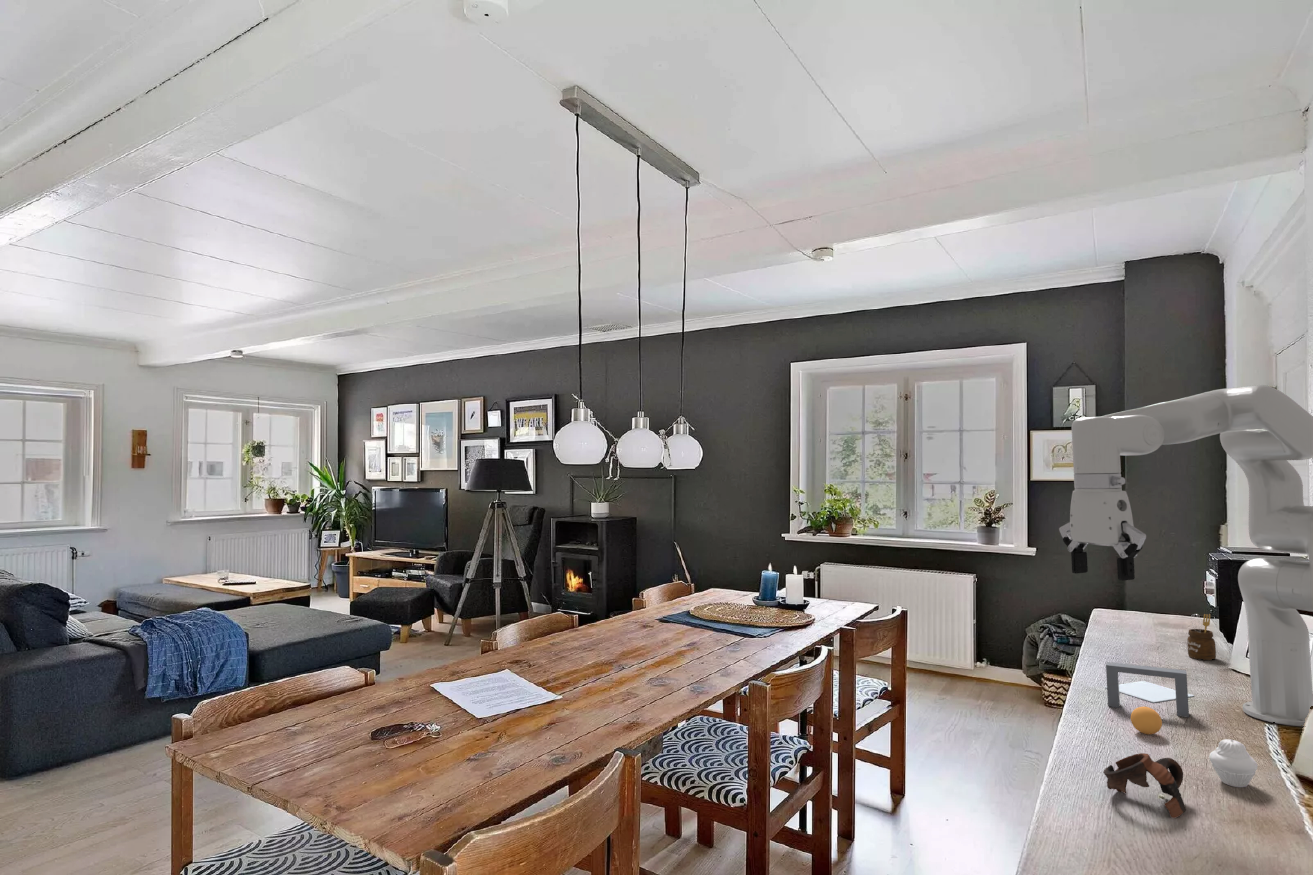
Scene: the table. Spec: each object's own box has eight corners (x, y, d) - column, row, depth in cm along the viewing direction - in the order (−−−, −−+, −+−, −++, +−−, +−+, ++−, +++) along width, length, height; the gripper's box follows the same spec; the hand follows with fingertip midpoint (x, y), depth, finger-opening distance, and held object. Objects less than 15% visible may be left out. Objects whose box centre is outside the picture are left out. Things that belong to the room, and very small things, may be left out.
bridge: (1108, 702, 158) (1106, 661, 159) (1188, 713, 151) (1186, 670, 151) (1108, 706, 156) (1105, 665, 156) (1189, 717, 148) (1186, 673, 148)
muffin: (1251, 795, 114) (1248, 749, 114) (1204, 782, 119) (1202, 738, 119) (1264, 784, 117) (1261, 740, 118) (1218, 772, 122) (1215, 729, 123)
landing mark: (1143, 681, 172) (1143, 680, 172) (1194, 696, 161) (1194, 695, 161) (1104, 687, 169) (1104, 686, 169) (1153, 703, 157) (1153, 702, 157)
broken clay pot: (1167, 829, 105) (1130, 772, 108) (1117, 831, 113) (1084, 777, 116) (1216, 791, 110) (1179, 737, 113) (1165, 796, 118) (1132, 745, 121)
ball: (1144, 727, 143) (1143, 701, 143) (1169, 736, 138) (1167, 709, 139) (1125, 731, 142) (1123, 704, 142) (1149, 740, 137) (1147, 712, 137)
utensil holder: (1206, 655, 194) (1204, 609, 194) (1222, 661, 188) (1219, 614, 188) (1182, 655, 194) (1180, 609, 195) (1197, 661, 188) (1195, 614, 189)
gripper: (1157, 483, 129) (1162, 581, 128) (1073, 482, 145) (1078, 569, 144) (1124, 484, 126) (1129, 584, 126) (1043, 483, 143) (1048, 571, 142)
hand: (1102, 576), depth 135 cm, fingers open, 9 cm apart
